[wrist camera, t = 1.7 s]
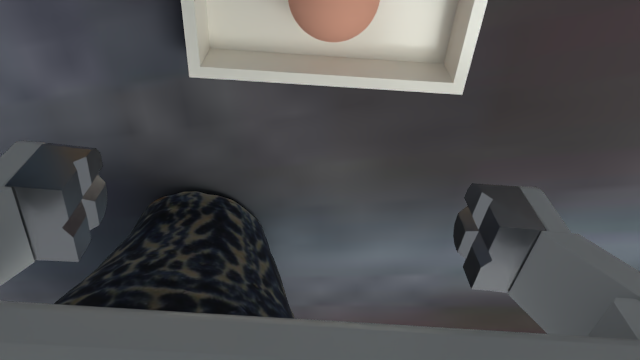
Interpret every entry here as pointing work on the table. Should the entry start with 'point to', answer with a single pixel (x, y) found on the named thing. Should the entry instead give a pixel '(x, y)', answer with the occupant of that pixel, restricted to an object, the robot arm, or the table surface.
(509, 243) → the robot arm
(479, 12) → the white storage bin
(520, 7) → the table surface
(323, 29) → the ball
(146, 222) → the jug
